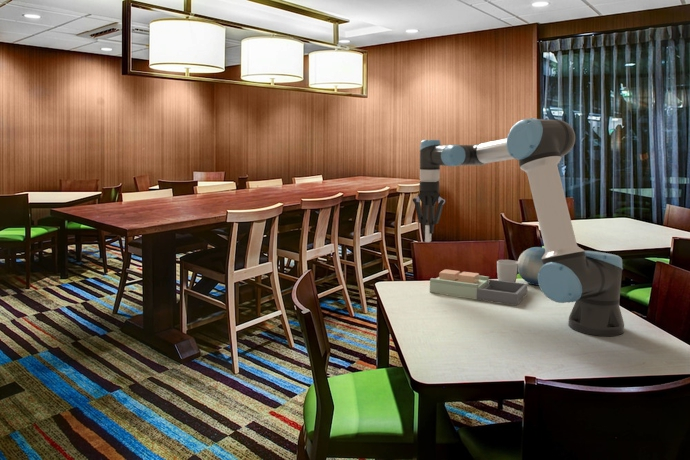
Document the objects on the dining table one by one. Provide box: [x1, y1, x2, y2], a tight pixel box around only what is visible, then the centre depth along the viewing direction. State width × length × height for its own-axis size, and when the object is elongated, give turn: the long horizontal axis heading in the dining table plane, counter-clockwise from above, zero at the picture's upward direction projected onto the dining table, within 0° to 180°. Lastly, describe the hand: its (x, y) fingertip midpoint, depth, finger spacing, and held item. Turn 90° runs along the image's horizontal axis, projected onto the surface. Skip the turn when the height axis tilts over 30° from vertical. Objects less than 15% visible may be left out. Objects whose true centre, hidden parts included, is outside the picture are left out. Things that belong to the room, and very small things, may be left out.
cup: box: [496, 259, 519, 283], centre depth 203 cm, size 8×8×10 cm
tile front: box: [458, 271, 480, 284], centre depth 195 cm, size 6×6×3 cm
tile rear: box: [438, 269, 461, 281], centre depth 199 cm, size 6×6×3 cm
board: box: [429, 272, 490, 300], centre depth 198 cm, size 15×18×5 cm
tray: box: [476, 278, 528, 306], centre depth 189 cm, size 16×14×4 cm
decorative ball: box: [517, 246, 545, 286], centre depth 206 cm, size 15×15×15 cm
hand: (428, 241), depth 202 cm, fingers closed
